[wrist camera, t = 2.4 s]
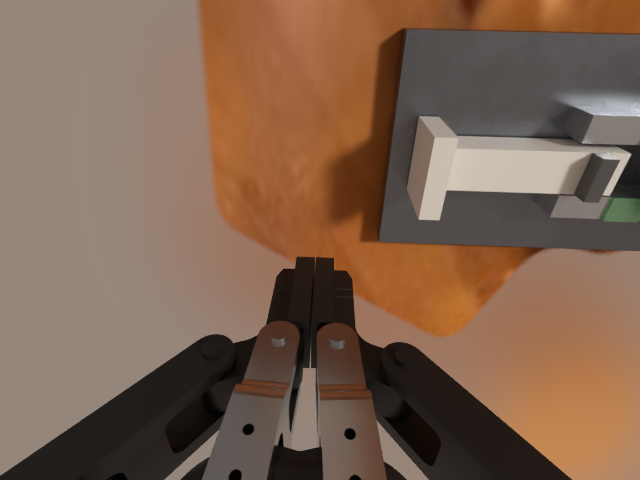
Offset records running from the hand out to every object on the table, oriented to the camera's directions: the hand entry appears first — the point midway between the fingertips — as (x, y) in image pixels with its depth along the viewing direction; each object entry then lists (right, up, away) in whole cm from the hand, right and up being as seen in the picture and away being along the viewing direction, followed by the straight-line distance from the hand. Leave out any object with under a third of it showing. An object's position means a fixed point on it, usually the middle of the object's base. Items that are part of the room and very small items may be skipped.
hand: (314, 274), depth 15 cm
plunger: (+14, +8, +12) cm, 20 cm away
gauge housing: (+18, +8, +13) cm, 23 cm away
